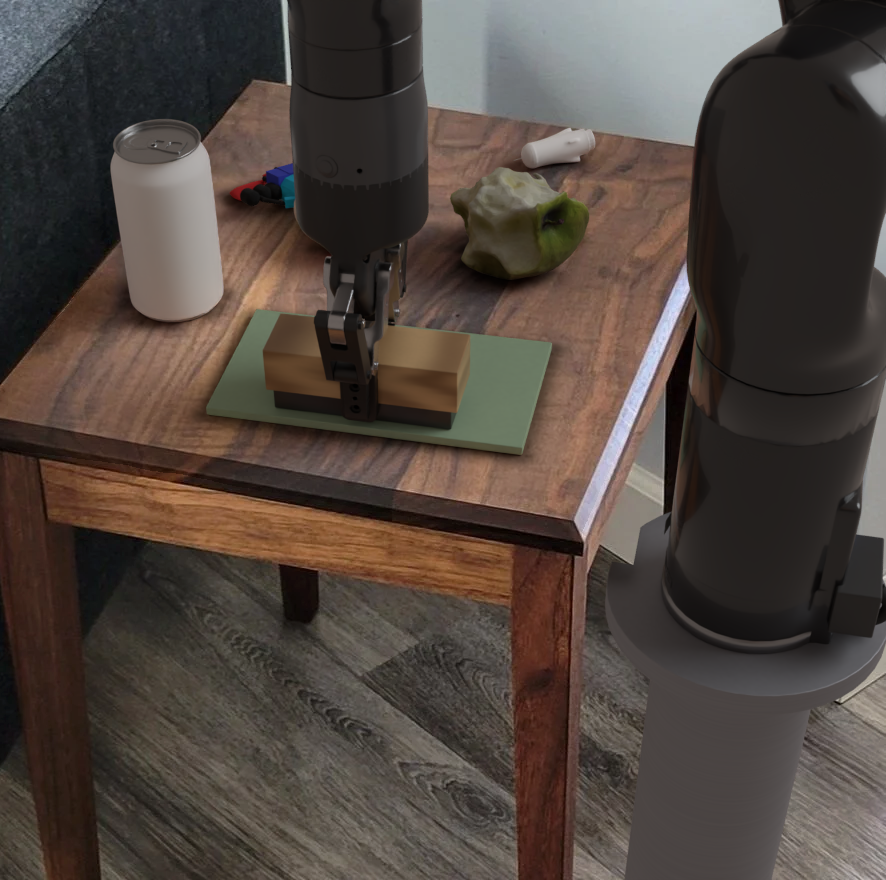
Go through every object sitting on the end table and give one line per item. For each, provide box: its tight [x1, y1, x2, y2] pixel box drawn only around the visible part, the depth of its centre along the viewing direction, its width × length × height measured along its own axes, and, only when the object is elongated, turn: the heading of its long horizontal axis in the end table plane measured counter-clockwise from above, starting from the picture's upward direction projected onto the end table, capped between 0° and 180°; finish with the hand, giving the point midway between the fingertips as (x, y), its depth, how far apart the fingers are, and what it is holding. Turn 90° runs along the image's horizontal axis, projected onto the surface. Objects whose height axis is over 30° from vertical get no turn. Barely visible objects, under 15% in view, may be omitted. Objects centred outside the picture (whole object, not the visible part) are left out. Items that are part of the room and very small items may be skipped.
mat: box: [205, 308, 553, 456], centre depth 104 cm, size 20×11×1 cm, turn 75°
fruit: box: [449, 166, 590, 281], centre depth 112 cm, size 9×9×8 cm
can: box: [110, 118, 225, 323], centre depth 108 cm, size 6×6×12 cm
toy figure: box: [228, 162, 298, 223], centre depth 117 cm, size 8×5×15 cm
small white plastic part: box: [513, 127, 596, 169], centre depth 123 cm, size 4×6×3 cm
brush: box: [262, 313, 470, 429], centre depth 100 cm, size 12×4×4 cm, turn 75°
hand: (369, 393), depth 101 cm, fingers closed on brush, 4 cm apart
